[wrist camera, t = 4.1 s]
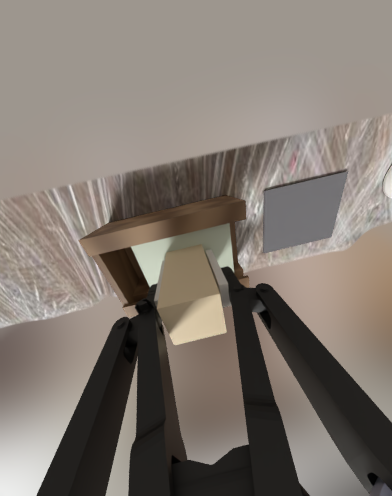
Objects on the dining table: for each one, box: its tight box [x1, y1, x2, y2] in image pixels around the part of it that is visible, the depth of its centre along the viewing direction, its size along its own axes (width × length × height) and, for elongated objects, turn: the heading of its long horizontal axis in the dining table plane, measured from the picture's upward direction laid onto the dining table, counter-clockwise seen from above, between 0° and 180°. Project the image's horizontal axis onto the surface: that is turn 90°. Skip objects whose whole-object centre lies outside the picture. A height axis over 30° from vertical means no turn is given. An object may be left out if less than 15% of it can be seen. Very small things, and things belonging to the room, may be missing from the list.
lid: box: [131, 223, 234, 345], centre depth 15 cm, size 12×10×10 cm
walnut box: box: [78, 195, 249, 317], centre depth 20 cm, size 18×12×7 cm
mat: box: [263, 171, 348, 253], centre depth 23 cm, size 13×11×1 cm
